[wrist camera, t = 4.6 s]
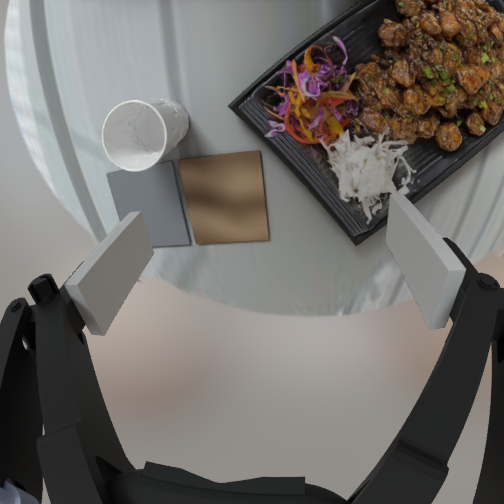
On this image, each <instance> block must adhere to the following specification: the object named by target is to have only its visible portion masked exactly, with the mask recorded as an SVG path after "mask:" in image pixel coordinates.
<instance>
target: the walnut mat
mask: <svg viewBox="0 0 504 504" xmlns="http://www.w3.org/2000/svg"><path fill="white" fill-rule="evenodd" d="M178 163H179V168H180V173H181V178H182V183H183V188H184V192H185V197H186V202H187V206H188V211H189V215H190V220H191V224H192V229H193V233H194V237H195V242H196V244H202V243H219V242H236V241H254V240H269V234H268V224H267V214H266V204H265V195H264V185H263V176H262V167H261V157H260V150H259V151H248V152H237V153H228V154H219V155H211V156H203V157H196V158H189V159H182V160H179V161H178Z"/></svg>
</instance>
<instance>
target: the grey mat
mask: <svg viewBox="0 0 504 504" xmlns="http://www.w3.org/2000/svg"><path fill="white" fill-rule="evenodd" d="M106 175H107V178H108V182H109V186H110V189H111V193H112V196H113V200H114V203H115V206H116V210H117V213H118V216H119V219H120V222H121V221H122V220H123V219H124V218H125V217H126V216H127V215H128V214H129V213H130V212H135V211H142V214H143V218H144V221H145V225H146V228H147V232H148V235H149V238H150V241H151V245H152V247H154V246H169V245H185V244H190V243H191V241H190V237H189V232H188V228H187V224H186V220H185V215H184V211H183V207H182V202H181V198H180V193H179V188H178V184H177V179H176V174H175V169H174V164H173V161H169V162H163V163H157V164H155V165H153V166H152V167H150V168H149V169H146V170H144V171H139V172H131V171H126V170H120V171H115V172H110V173H107V174H106Z"/></svg>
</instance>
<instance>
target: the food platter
mask: <svg viewBox="0 0 504 504" xmlns="http://www.w3.org/2000/svg"><path fill="white" fill-rule="evenodd" d="M444 1H445V2H444ZM411 12H412V13H411ZM480 23H481V24H480ZM408 39H409V40H408ZM381 41H382V42H381ZM407 45H408V46H407ZM405 58H406V59H405ZM484 72H485V73H484ZM376 75H377V76H376ZM388 88H389V89H388ZM325 92H326V93H325ZM488 94H489V95H488ZM228 107H229V108H230V109H231V110H232V111H233V112H234V113H235V114H236V115H237V116H238V117H239V118H240V119H242V120H243V121H244V122H245V123H246V124H247V125H248V126H249V127H250V128H251V129H252V130H253V131H254V132H255V133H256V134H257V135H258V136H259V137H260V138H261V139H262V141H263V142H264V143H265V144H266V145H267V146H268V147H269V148H270V149H271V150H272V151H273V152H274V153H275V154H276V155H277V156H278V157H279V158H280V159H281V160H282V161H283V162H284V164H285V165H286V166H287V167H288V168H289V169H290V170H291V171H292V172H293V173H294V174H295V175H296V177H297V178H298V179H299V180H300V181H301V182H302V183H303V184H304V185H305V186H306V188H307V189H308V190H309V191H310V192H311V193H312V194H313V195H314V197H315V198H316V199H317V200H318V201H319V202H320V204H321V205H322V206H323V207H324V208H325V209H326V210H327V212H328V213H329V214H330V215H331V216H332V218H333V219H334V220H335V221H336V222H337V223H338V225H339V226H340V227H341V228H342V230H343V231H344V232H345V233H346V234H347V236H348V237H349V238H350V239H351V241H352V242H353V243H354V244H355V245H356V246H357V245H359V244H360V243H361V242H363V241H364V240H366V239H367V238H368V237H370V236H371V235H373V234H374V233H375V232H377V231H378V230H379V229H381V228H382V227H384V226H385V225H386V224H387V222H388V212H389V200H390V194H403V195H404V196H405V197H406V198H407V199H408V200H409V201H410V202H411V203H412V204H414V203H416V202H417V201H418V200H420V199H421V198H422V197H424V196H425V195H426V194H427V193H429V192H430V191H431V190H433V189H434V188H435V187H436V186H438V185H439V184H440V183H441V182H443V181H444V180H445V179H446V178H448V177H449V176H450V175H451V174H453V173H454V172H455V171H456V170H458V169H459V168H460V167H461V166H463V165H464V164H465V163H466V162H467V161H469V160H470V159H471V158H472V157H473V156H475V155H476V154H477V153H478V152H479V151H481V150H482V149H483V148H484V147H485V146H486V145H488V144H489V143H490V142H491V141H492V140H493V139H494V138H496V137H497V136H498V135H499V134H500V133H501V132H502V131H504V0H362V1H360V2H359V3H357V4H356V5H354V6H353V7H351V8H349V9H348V10H346V11H345V12H343V13H342V14H340V15H339V16H337V17H336V18H335V19H333V20H332V21H330V22H329V23H327V24H326V25H325V26H323V27H322V28H320V29H319V30H318V31H316V32H315V33H314V34H312V35H311V36H310V37H308V38H307V39H306V40H304V41H303V42H302V43H300V44H299V45H298V46H296V47H295V48H294V49H293V50H291V51H290V52H289V53H288V54H286V55H285V56H284V57H283V58H281V59H280V60H279V61H278V62H277V63H275V64H274V65H273V66H272V67H271V68H269V69H268V70H267V71H266V72H265V73H264V74H262V75H261V76H260V77H259V78H258V79H257V80H256V81H254V82H253V83H252V84H251V85H250V86H249V87H248V88H247V89H246V90H244V91H243V92H242V93H241V94H240V95H239V96H238V97H237V98H236V99H235V100H234V101H233V102H231V103H230V104H229V105H228ZM274 114H275V115H274ZM348 128H349V129H348ZM413 132H414V133H413ZM352 134H353V135H352ZM307 149H308V150H307ZM310 154H311V155H310ZM313 158H314V159H313ZM348 170H349V171H348Z"/></svg>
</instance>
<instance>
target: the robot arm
mask: <svg viewBox="0 0 504 504" xmlns="http://www.w3.org/2000/svg"><path fill="white" fill-rule="evenodd" d="M385 242H386V244H387V246H388V248H389V249H390V251H391V253H392V255H393V257H394V259H395V261H396V262H397V264H398V266H399V268H400V270H401V272H402V274H403V276H404V278H405V280H406V282H407V284H408V286H409V288H410V290H411V292H412V294H413V296H414V298H415V301H416V303H417V305H418V307H419V309H420V311H421V313H422V316H423V318H424V320H425V322H426V325H427V327H428V329H429V330H432V329H439V328H445V326H446V323H447V321H448V319H449V316H450V317H451V319H452V321H453V326H452V328H451V330H450V333H449V335H448V337H447V339H446V341H445V345H444V347H443V350H442V352H441V354H440V357H439V359H438V361H437V363H436V365H435V367H434V369H433V371H432V373H431V376H430V378H429V380H428V382H427V384H426V385H425V387H424V389H423V391H422V393H421V395H420V397H419V399H418V400H417V402H416V404H415V406H414V408H413V409H412V411H411V413H410V415H409V416H408V418H407V420H406V422H405V423H404V425H403V426H402V428H401V430H400V431H399V433H398V434H397V436H396V437H395V439H394V440H393V442H392V443H391V445H390V446H389V448H388V449H387V451H386V452H385V454H384V455H383V456H382V458H381V459H380V461H379V462H378V463H377V465H376V466H375V467H374V469H373V470H372V471H371V473H370V474H369V475H368V476H367V477H366V479H365V480H364V481H363V482H362V483H361V485H360V486H359V487H358V488H357V489H356V491H355V492H354V493H353V494H352V495H351V496H350V498H349V499H348V500H347V501H346V500H345V499H344V498H342V497H341V496H339V495H338V494H336V493H334V492H332V491H330V490H327V489H325V488H322V487H319V486H316V485H311V484H306V483H305V477H260V478H254V479H248V480H242V481H235V482H227V483H217V482H213V481H211V480H208V479H205V478H203V477H200V476H198V475H195V474H193V473H190V472H188V471H186V470H183V469H181V468H176V467H170V466H165V465H161V464H156V463H152V462H147V461H146V463H145V467H144V469H137V470H136V469H135V468H134V467H133V465H132V464H131V463H130V462H129V460H128V459H127V457H126V455H125V453H124V451H123V448H122V446H121V444H120V441H119V439H118V437H117V434H116V432H115V429H114V427H113V424H112V421H111V419H110V416H109V413H108V411H107V408H106V405H105V402H104V399H103V396H102V393H101V390H100V387H99V384H98V381H97V377H96V374H95V370H94V367H93V363H92V360H91V356H90V353H89V349H88V345H87V340H86V336H85V335H84V333H83V331H82V329H83V328H84V326H85V325H86V326H87V328H88V329H89V331H90V332H91V334H93V335H102V336H104V335H105V334H106V332H107V330H108V329H109V327H110V325H111V323H112V321H113V320H114V318H115V316H116V315H117V313H118V311H119V309H120V308H121V306H122V304H123V303H124V301H125V299H126V298H127V296H128V294H129V293H130V291H131V289H132V288H133V286H134V284H135V283H136V281H137V280H138V278H139V276H140V275H141V273H142V272H143V270H144V269H145V267H146V265H147V264H148V262H149V261H150V259H151V258H152V256H153V254H154V251H153V248H152V245H151V241H150V238H149V235H148V232H147V228H146V225H145V221H144V218H143V214H142V211H135V212H130V213H129V214H128V215H127V216H126V217H125V218H124V219H123V220H122V221H121V222H120V223H119V224H118V225H117V226H116V227H115V228H114V229H113V230H112V231H111V232H110V233H109V234H108V235H107V236H106V237H105V239H104V240H103V241H102V242H101V243H100V244H99V245H98V246H97V247H96V248H95V249H94V251H93V252H92V253H91V254H90V255H89V256H88V257H87V258H86V260H85V261H83V262H82V263H81V264H80V265H79V266H78V268H77V270H75V271H74V272H73V273H72V275H71V276H70V277H69V278H68V279H67V281H66V282H65V283H64V284H63V286H62V287H61V288H60V289H58V287H57V285H56V283H55V281H54V279H53V277H52V275H51V274H43V275H41V276H39V277H37V278H35V279H34V280H33V281H32V282H31V283H30V285H29V286H28V290H29V292H30V294H31V296H32V298H33V299H34V301H35V302H36V305H31V306H29V304H28V303H27V301H26V299H25V298H18V299H15V300H14V301H12V302H11V303H10V305H9V306H8V307H7V309H6V311H5V314H4V316H3V319H2V321H1V323H0V504H41V502H42V491H43V478H44V481H45V485H46V488H47V492H48V496H49V499H50V502H51V504H431V503H432V502H433V500H434V498H435V497H436V495H437V493H438V491H439V490H440V488H441V486H442V485H443V483H444V481H445V479H446V477H447V474H448V471H449V468H448V466H447V463H448V460H449V458H450V456H451V454H452V452H453V450H454V448H455V446H456V443H457V441H458V439H459V437H460V434H461V432H462V430H463V428H464V425H465V423H466V420H467V418H468V415H469V413H470V410H471V408H472V405H473V402H474V399H475V396H476V393H477V391H478V387H479V384H480V381H481V378H482V375H483V371H484V368H485V364H486V361H487V357H488V352H489V349H490V345H491V346H492V387H491V405H490V416H489V425H488V433H487V441H486V447H485V453H484V459H483V464H482V468H481V473H480V477H479V481H478V485H477V489H476V493H475V497H474V500H473V504H504V288H500V285H499V283H498V282H497V280H495V279H494V278H493V277H492V276H490V275H488V274H484V273H478V272H477V270H476V269H475V268H474V266H473V265H472V264H471V262H470V261H469V260H468V259H467V257H465V255H464V254H463V252H461V250H460V249H459V247H458V246H457V245H456V244H455V243H454V242H452V241H451V240H449V239H448V238H441V236H440V235H439V234H438V233H437V231H436V230H435V229H434V228H433V227H432V226H431V224H430V223H429V222H428V221H427V220H426V219H425V218H424V216H423V215H422V214H421V213H420V212H419V211H418V210H417V209H416V207H415V206H414V205H413V204H412V203H411V202H410V201H409V200H408V199H407V198H406V197H405V196H404V195H403V194H390V200H389V212H388V222H387V231H386V240H385ZM22 339H23V341H24V342H25V343H26V345H27V349H25V347H24V345H23V341H22ZM491 343H492V344H491ZM43 424H44V430H45V435H43V436H42V432H43Z"/></svg>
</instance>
